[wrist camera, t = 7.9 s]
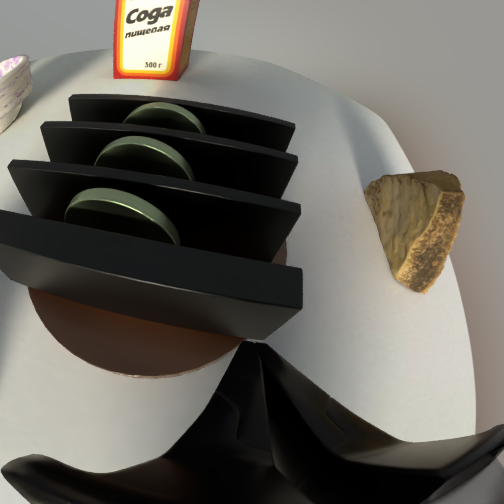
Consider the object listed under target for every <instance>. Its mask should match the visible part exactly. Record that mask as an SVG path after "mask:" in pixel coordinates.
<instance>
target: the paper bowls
mask: <svg viewBox="0 0 504 504" xmlns="http://www.w3.org/2000/svg"><path fill="white" fill-rule="evenodd" d="M32 87H33V84H32V77H31V71H30V62H29V57H28V56H27V55H20V56H16V57H13V58H9V59H7V60H4V61H2V62H0V133H2V132H3V131H4V130H5V129H6V128H7V127H8V126H9V125H10V124H11V123H12V122H13V121H14V120H15V118H16V117H17V115H18V113H19V111H20V109H21V105H22V101H23V100H24V99H25V98H26V97H27V96H28V94H29V93H30V92H31V90H32Z"/></svg>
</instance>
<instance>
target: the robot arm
mask: <svg viewBox="0 0 504 504" xmlns="http://www.w3.org/2000/svg"><path fill="white" fill-rule="evenodd" d="M503 450H504V424H501V425H497V426H495V427H493V428H492V429H490V430H488V431H486V432H483V433H479V434H476V435H471V436H466V437H460V438H454V439H447V440H439V441H430V442H417V443H413V442H406V441H402V440H399V439H397V438H395V437H393V436H391V435H389V434H387V433H386V432H384V431H382V430H380V429H379V428H377V427H375V426H374V425H372V424H370V423H368V422H367V421H365V420H363V419H362V418H360V417H359V416H357V415H356V414H354V413H352V412H351V411H350V410H348V409H347V408H345V407H344V406H343V405H341V404H340V403H339V402H337V401H336V400H335V399H333V398H332V397H331V398H330V396H329V395H328V394H327V393H326V392H324V391H323V390H322V389H321V388H319V387H318V386H317V385H316V384H314V383H313V382H312V381H311V380H309V379H308V378H307V377H306V376H304V375H303V374H302V373H301V372H300V371H298V370H297V369H296V368H295V367H294V366H292V365H291V364H290V363H289V362H288V361H286V360H285V359H284V358H283V357H282V356H280V355H279V354H278V353H277V352H276V351H275V350H273V349H272V348H271V347H270V346H269V345H268V344H266V343H258V342H256V343H254V342H250V341H242V342H241V343H240V345H239V347H238V349H237V351H236V353H235V355H234V357H233V359H232V361H231V362H230V364H229V366H228V368H227V370H226V372H225V374H224V376H223V378H222V379H221V381H220V383H219V385H218V387H217V389H216V391H215V392H214V394H213V396H212V398H211V399H210V401H209V403H208V404H207V406H206V408H205V409H204V410H203V412H202V413H201V414H200V416H199V417H198V418H197V419H196V421H195V422H194V423H193V424H192V425H191V426H190V427H189V428H188V430H187V431H186V432H185V433H184V434H183V435H182V436H181V437H180V438H179V440H178V441H177V442H176V443H175V444H174V445H173V446H172V447H171V448H170V449H169V450H168V451H167V452H165V453H164V454H163V455H161V456H160V457H158V458H156V459H153V460H150V461H147V462H144V463H141V464H138V465H135V466H132V467H129V468H125V469H122V470H119V471H115V472H110V473H93V472H87V471H83V470H80V469H77V468H74V467H71V466H69V465H67V464H64V463H62V462H60V461H58V460H55V459H53V458H50V457H47V456H44V455H40V454H31V455H27V456H24V457H20V458H17V459H14V460H12V461H10V462H8V463H7V464H6V465H4V466H3V467H2V468H1V473H2V475H3V477H4V478H5V479H6V480H7V481H8V482H9V483H10V484H11V485H12V486H13V487H14V488H15V489H16V490H17V491H18V492H19V493H20V494H21V495H22V496H23V497H24V498H25V499H26V500H27V501H28V502H30V503H31V504H504V466H503V465H502V464H501V463H500V462H499V460H498V459H497V456H498V455H499V454H500V453H501V452H502V451H503Z"/></svg>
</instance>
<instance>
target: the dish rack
mask: <svg viewBox="0 0 504 504" xmlns="http://www.w3.org/2000/svg"><path fill="white" fill-rule="evenodd" d="M68 100H69V106H70V112H71V117H72V121H46V122H44V123H43V124H42V125H41V126H40V128H41V132H42V136H43V139H44V142H45V146H46V149H47V152H48V155H49V158H50V161H51V162H46V161H31V160H12V161H11V162H10V164H9V165H8V167H7V168H8V170H9V172H10V174H11V176H12V178H13V181H14V183H15V185H16V187H17V189H18V191H19V192H20V194H21V196H22V198H23V200H24V202H25V204H26V206H27V207H28V209H29V211H30V213H31V214H32V216H29V215H24V214H19V213H15V212H10V211H5V210H0V270H1V271H2V272H3V273H4V274H5V275H6V276H7V277H9V278H10V279H11V280H13V281H15V282H18V283H21V284H23V285H26V286H29V287H31V288H34V289H37V290H40V291H43V292H46V293H49V294H52V295H55V296H58V297H61V298H64V299H68V300H71V301H74V302H77V303H81V304H84V305H88V306H91V307H95V308H98V309H102V310H106V311H110V312H114V313H118V314H122V315H126V316H130V317H134V318H138V319H143V320H147V321H152V322H156V323H161V324H166V325H171V326H176V327H181V328H186V329H192V330H197V331H203V332H209V333H215V334H221V335H228V336H235V337H242V338H249V339H257V340H264V339H265V338H267V337H268V336H269V335H270V334H272V333H273V332H274V331H276V330H277V329H278V328H279V327H281V326H282V325H283V324H284V323H286V322H287V321H288V320H289V319H291V318H292V317H293V316H294V315H296V314H297V313H298V312H299V311H301V310H302V308H303V272H302V269H301V268H297V267H291V266H286V265H281V264H275V263H271V262H272V261H273V259H274V258H275V256H276V254H277V253H278V251H279V249H280V248H281V246H282V245H283V243H284V241H285V240H286V238H287V236H288V235H289V233H290V231H291V230H292V228H293V227H294V225H295V223H296V222H297V220H298V218H299V217H300V215H301V205H300V204H298V203H294V202H290V201H285V200H281V197H282V195H283V193H284V191H285V189H286V187H287V185H288V183H289V181H290V179H291V176H292V174H293V172H294V170H295V168H296V166H297V164H298V156H297V155H293V154H289V153H286V150H287V148H288V145H289V143H290V141H291V138H292V136H293V133H294V131H295V129H296V128H295V123H291V122H288V121H284V120H280V119H277V118H273V117H269V116H265V115H261V114H257V113H252V112H248V111H244V110H239V109H234V108H229V107H224V106H219V105H213V104H207V103H201V102H194V101H187V100H180V99H172V98H163V97H152V96H139V95H121V94H73V95H72V96H71V97H69V98H68Z"/></svg>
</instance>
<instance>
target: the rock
mask: <svg viewBox="0 0 504 504" xmlns="http://www.w3.org/2000/svg"><path fill="white" fill-rule="evenodd" d="M364 193H365V197H366V200H367V202H368V204H369V206H370V209H371V211H372V214H373V217H374V220H375V223H376V224H377V227H378V230H379V233H380V239H381V242H382V244H383V247H384V251H385V253H386V255H387V258H388V260H389V263H390V269H391V271H392V274H393V275H394V277H395V279H396V280H398V281H399V282H400V283H402V284H403V285H405V286H406V287H408V288H409V289H411V290H413V291H415V292H421V293H424V294H426V293H427V292H428V289H429V288H430V287H431V286H433V285H434V282H435V281H436V279H437V277H438V276H439V275H440V274H441V272H442V270H443V269H444V263H445V261H446V258H447V255H448V254H449V252H450V250H451V248H452V244H453V242H454V240H455V238H456V235H457V232H458V226H459V223H460V221H461V212H462V207H463V203H464V200H465V195H464V193H463V191H462V190H461V184H460V182H459V180H458V178H457V177H456V176H455V175H453V174H449V173H447V172H443V171H441V170H439V171H430V172H417V173H408V174H396V175H384V176H382V177H381V178H380V179H378V180H376V181H372V182H371V183H370V185H369V186H368V187H367V188H366V190H365V191H364Z"/></svg>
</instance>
